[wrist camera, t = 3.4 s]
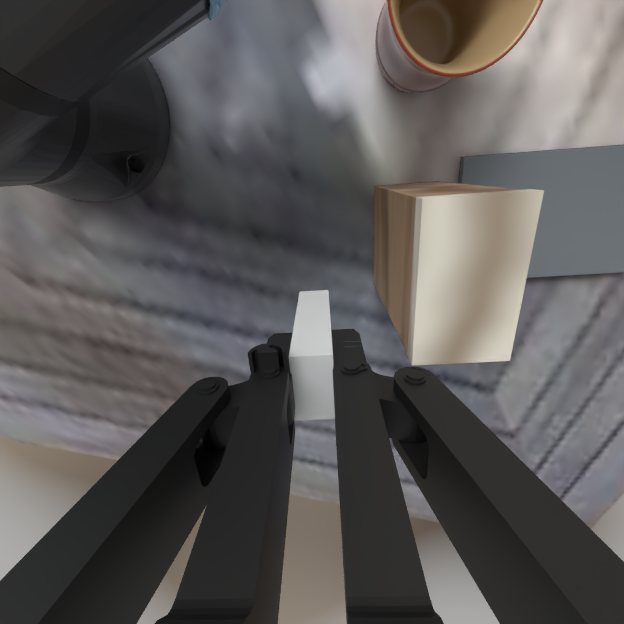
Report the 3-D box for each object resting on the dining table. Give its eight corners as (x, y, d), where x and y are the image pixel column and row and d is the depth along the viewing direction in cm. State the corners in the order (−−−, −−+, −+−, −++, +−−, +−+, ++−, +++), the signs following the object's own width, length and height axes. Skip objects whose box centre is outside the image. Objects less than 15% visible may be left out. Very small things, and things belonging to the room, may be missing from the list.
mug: (373, 118, 29) (398, 94, 20) (355, -4, 26) (375, -103, 17) (511, 79, 28) (609, 34, 19) (511, -56, 25) (630, -194, 15)
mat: (448, 279, 35) (451, 282, 34) (461, 156, 30) (464, 156, 30) (622, 269, 34) (628, 271, 34) (662, 141, 30) (671, 141, 29)
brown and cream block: (373, 284, 36) (411, 365, 21) (373, 185, 32) (422, 198, 17) (429, 281, 35) (509, 360, 21) (437, 180, 31) (544, 190, 17)
